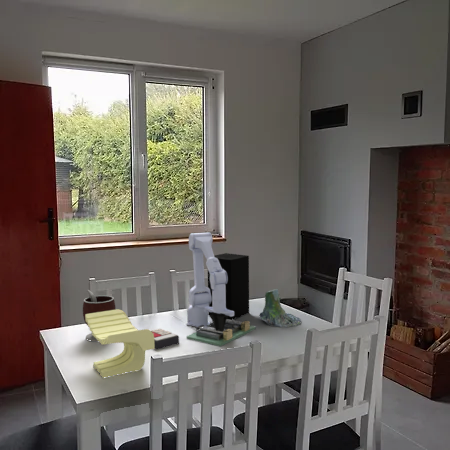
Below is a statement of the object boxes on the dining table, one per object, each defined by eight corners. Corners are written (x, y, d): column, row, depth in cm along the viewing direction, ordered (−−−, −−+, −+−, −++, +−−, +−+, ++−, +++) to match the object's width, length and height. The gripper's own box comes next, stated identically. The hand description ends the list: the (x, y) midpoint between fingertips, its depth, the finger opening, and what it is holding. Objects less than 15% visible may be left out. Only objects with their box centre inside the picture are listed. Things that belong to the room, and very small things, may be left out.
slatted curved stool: (155, 377, 171) (153, 327, 169) (110, 387, 163) (108, 335, 161) (126, 351, 196) (125, 308, 195) (87, 359, 188) (85, 314, 187)
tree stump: (291, 331, 221) (282, 292, 221) (254, 334, 232) (245, 297, 232) (307, 319, 236) (299, 283, 236) (272, 322, 248) (263, 288, 247)
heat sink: (193, 334, 213) (193, 326, 212) (222, 322, 231) (222, 314, 230) (224, 341, 203) (224, 333, 203) (252, 328, 221) (251, 320, 221)
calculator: (160, 327, 216) (179, 333, 205) (160, 337, 217) (179, 344, 205) (138, 332, 210) (156, 339, 198) (138, 342, 210) (157, 350, 198)
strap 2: (218, 321, 225) (218, 319, 225) (222, 319, 227) (222, 317, 227) (241, 325, 218) (240, 323, 218) (244, 323, 220) (244, 321, 220)
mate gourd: (122, 336, 215) (121, 292, 213) (95, 344, 205) (93, 298, 203) (102, 329, 225) (101, 286, 223) (75, 337, 215) (73, 292, 213)
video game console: (231, 320, 236) (231, 259, 233) (208, 315, 245) (207, 256, 242) (249, 313, 248) (249, 255, 245) (226, 309, 257) (225, 253, 254)
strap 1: (199, 329, 214) (199, 327, 214) (204, 327, 216) (203, 325, 216) (223, 333, 207) (223, 331, 206) (227, 331, 209) (227, 330, 209)
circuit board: (186, 338, 211) (186, 336, 211) (223, 322, 234) (223, 320, 234) (220, 346, 201) (220, 343, 201) (255, 328, 224) (255, 326, 224)
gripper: (238, 299, 207) (238, 330, 208) (211, 295, 216) (211, 325, 217) (228, 303, 201) (228, 335, 203) (201, 298, 210) (201, 329, 211)
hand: (219, 330), depth 209 cm, fingers closed, pressing on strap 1
